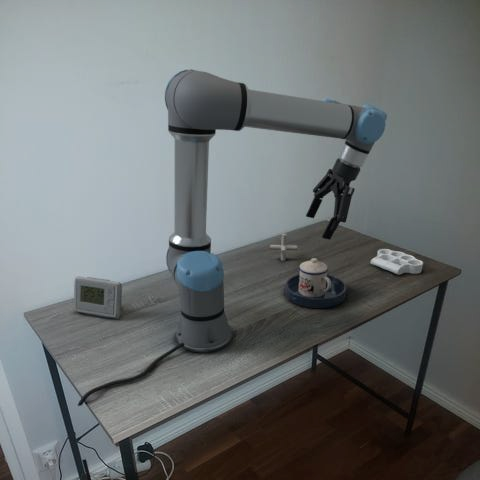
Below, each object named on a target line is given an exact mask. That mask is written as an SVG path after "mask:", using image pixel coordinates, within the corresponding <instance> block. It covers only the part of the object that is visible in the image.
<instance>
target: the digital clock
mask: <svg viewBox="0 0 480 480" xmlns="http://www.w3.org/2000/svg"><path fill="white" fill-rule="evenodd" d="M73 283H74V285H73V287H74V289H73V310H74V311H75V312H76V313H80V314H84V315H88V316H92V317H93V316H94V317H100V318H105V319H110V318H111V319H119V318H120V317H121V315H122V295H123V284H122V282H120V281H113V280H111V279H104V278H97V277H90V276H87V277H86V276H78V275H77V276H75V277H74V282H73Z"/></svg>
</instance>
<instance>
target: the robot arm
mask: <svg viewBox="0 0 480 480" xmlns="http://www.w3.org/2000/svg"><path fill="white" fill-rule="evenodd" d="M164 102H165V107H166V110H167V131H168V133H169V135H170V136H172V138H173V140H174V202H173V203H174V205H173V206H174V209H173V210H174V218H173V219H174V222H173V223H174V224H173V225H174V228H173V229H174V231H173V232H172V233H171V234H170V235H169V237H168V248H167V251H166V255H165V256H166V257H165V261H166V267H167V269H168V271H169V272H170V274H171V276H172V279H173V281H174V282H175V285H176V287H177V290H178V294H179V295H178V296H179V305H180V306H179V307H180V317H179V321H178V324H177V328H176V333H175V334H176V335H175V336H176V342H177V344H178V345H175V347H172V349H169V350H168V351H167V352H165V353H163V354H162V355H160V356H158V357H157V358H156V359H155V360H153V361H152V363H150V364H149V365H148V366H147V368H146V369H144V370H143V371H142V372H141V373H139V374H137V375H135V376H131V377H127V378H121V379H117V380H113V381H109V382H107V383H104V384H102V385H100V386H97V387H94V388H92V389H90V390H88V391H87V392H86V393H84V395H83V396H82V397H81V398H80V400H79V402H78V404H77V406H78V407H81V406H82V405H83V404H84V403H85V402H86V400H87V399H88V398H89V397H90V396H92V395H93V394H95V393H97V392H100V391H102V390H105V389H107V388H110V387H114V386H117V385H121V384H127V383H130V382H134V381H137V380H139V379H141V378H143V377H145V376H146V375H147V374H148V373H149V372H150V371H151V370H152V369H153V368H154V367H155V366H156V365H157V364H158V363H160V362H161V361H163V360H164V359H165V358H167V357H168V356H170V355H172V354H173V353H175V352H176V351H178V350H180V349H183V350H185V351H188V352H190V353H191V352H192V353H198V354H203V353H204V354H205V353H206V354H207V353H212V352H216V351H219V350H222V349H224V348H225V347H227V346H228V345H229V344H230V342H231V341H232V339H233V331H232V327H231V324H230V321H229V317H228V316H227V315H226V311H225V288H224V287H225V285H224V283H225V282H224V277H225V271H224V267H223V262H222V259H220V257H219V256H217V254H215V253H212V252H211V251H212V250H211V249H212V238H211V237H210V235H209V234H207V214H208V213H207V211H208V186H209V185H208V184H209V183H208V182H209V158H210V157H209V155H210V141H211V140H212V139H213V138H214V137H215V136H216V134H217V133H216V130H218V131H219V130H220V131H233V132H234V131H235V132H240V131H242V130H243V129H244V128H251V129H257V130H258V129H260V130H266V131H274V132H283V133H292V134H299V135H306V136H307V135H308V136H315V137H324V138H332V139H340V140H344V144H343V145H342V148H341V150H340V151H339V154H338V158H336V160H335V162H334V164H333V166H332V168H329V169H328V170H327V172H326V174H325V175H324V176H323V177H322V179H321V180H320V181H318V183H317V184H316V185H315V187H314V188H313V189H312V193H314V194H313V200H312V201H311V203H310V205H309V208H308V210H307V212H306V215H305V217H306V218H311V219H315V217H316V214H317V212H318V211H319V209H320V207H321V205H322V202H323V199H324V197H325V196H327V195H329V194H330V193H333V197H334V208H333V216H332V217H331V218H330V220H329V222H328V223H327V225H326V227H325V230H324V232H323V233H322V235H321V238H322V239H326V240H329V241H330V240H331V239H332V237H333V235H334V233H335V232H336V230H337V228H338V227H339V225H340V223H346V222H347V220H348V216H349V211H350V206H351V201H352V199H353V195H354V193H355V190H356V189H355V187H351V186H350V185H351V182H353V181H354V182H355V181H356V180H357V178H358V176H359V174H360V172H361V168H362V167H363V166H364V164H365V162H366V160H367V158H368V156H369V154H370V153H371V151H372V149H373V147H374V145H375V143H376V142H377V141H378V140H380V139H381V137H382V136H383V134H384V132H385V129H386V123H387V122H386V121H387V118H388V114H387V112H385V110H382V109H381V108H379V107H377V106H375V105H373V104H370V103H364V104H363V105H362V106H357V105H352V104H346V103H341V102H339V101H336V100H335V99H330V98H323V99H321V100H318V99H312V98H306V97H299V96H294V95H293V96H292V95H287V94H280V93H275V92H267V91H263V90H262V91H261V90H255V89H250V88H249V87H248V85H247V84H246V83H245V82H238V81H234V80H229V79H226V78H223V77H220V76H219V75H215V74H213V73H210V72H207V71H202V70H196V69H192V68H191V69H184V70H180V71H179V72H176V74H174V75H173V76H171V78H170V79H169V81H168V82H167V84H166V87H165V90H164ZM81 460H82V465H83V469H84V472H85V476H86V480H92V475H91V473H90V469H89V466H88V462H87V459H86V458H84V459H81Z"/></svg>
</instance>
